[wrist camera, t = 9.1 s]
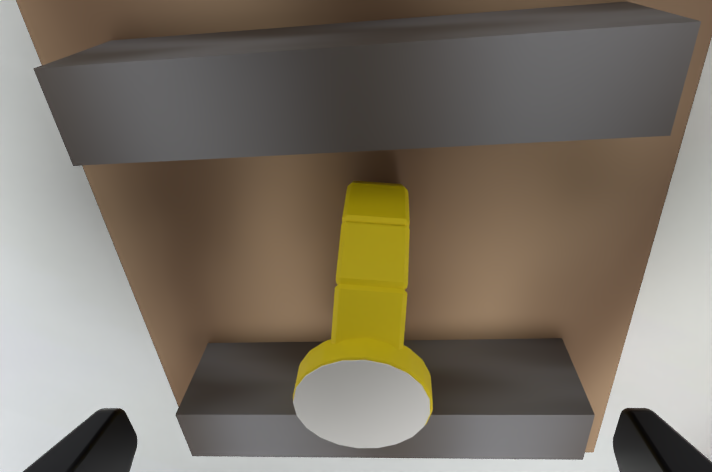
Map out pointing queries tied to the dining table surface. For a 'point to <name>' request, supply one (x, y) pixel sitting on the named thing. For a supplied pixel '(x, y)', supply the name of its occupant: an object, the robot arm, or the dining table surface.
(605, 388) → the cradle
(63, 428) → the dining table surface
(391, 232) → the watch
